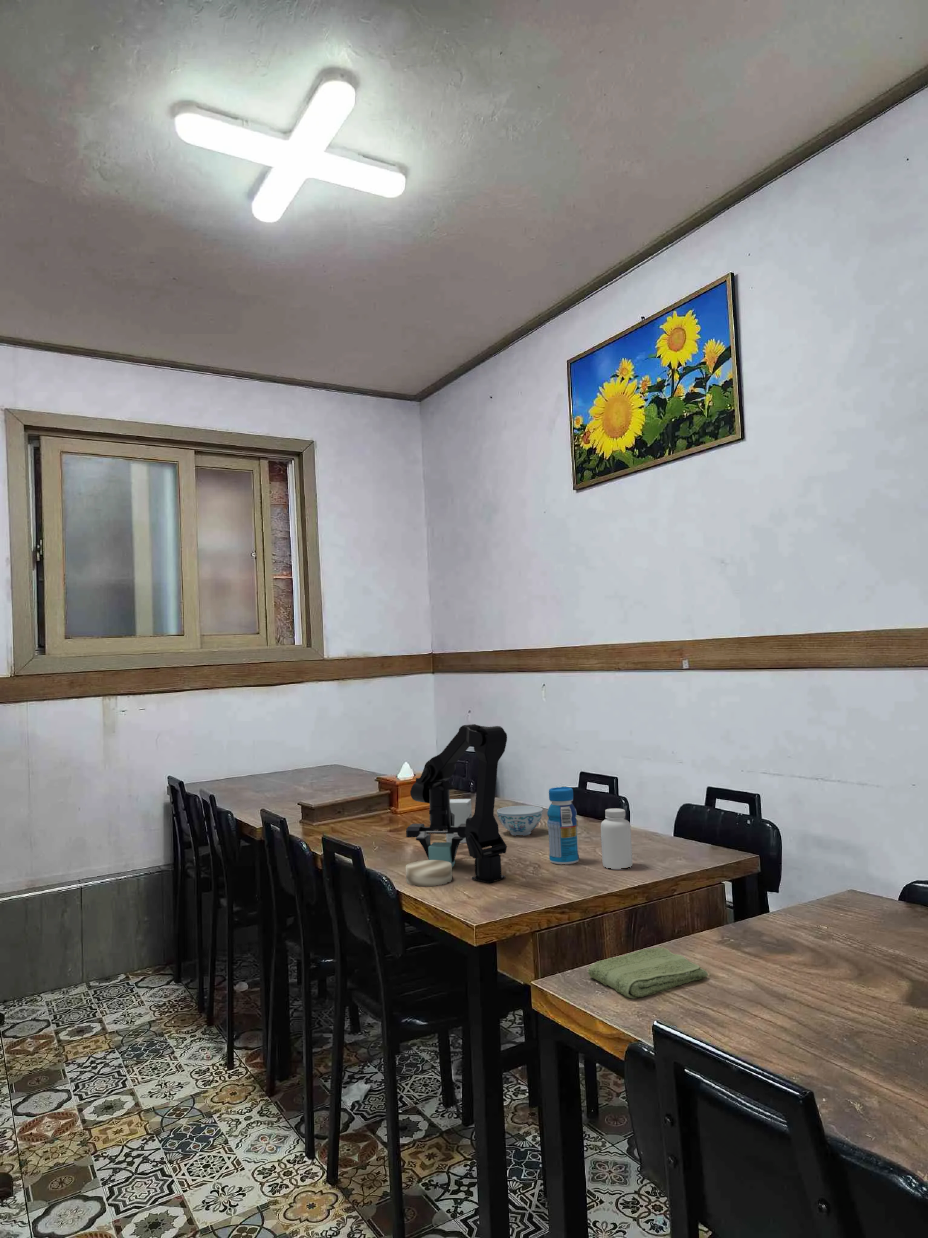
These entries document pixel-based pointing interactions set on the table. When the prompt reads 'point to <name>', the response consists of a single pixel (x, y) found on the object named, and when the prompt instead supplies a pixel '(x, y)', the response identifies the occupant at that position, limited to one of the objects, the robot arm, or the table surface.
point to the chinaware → (520, 818)
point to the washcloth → (645, 972)
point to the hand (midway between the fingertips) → (442, 861)
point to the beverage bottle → (562, 827)
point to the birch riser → (428, 873)
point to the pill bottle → (616, 840)
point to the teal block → (441, 851)
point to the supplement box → (459, 814)
